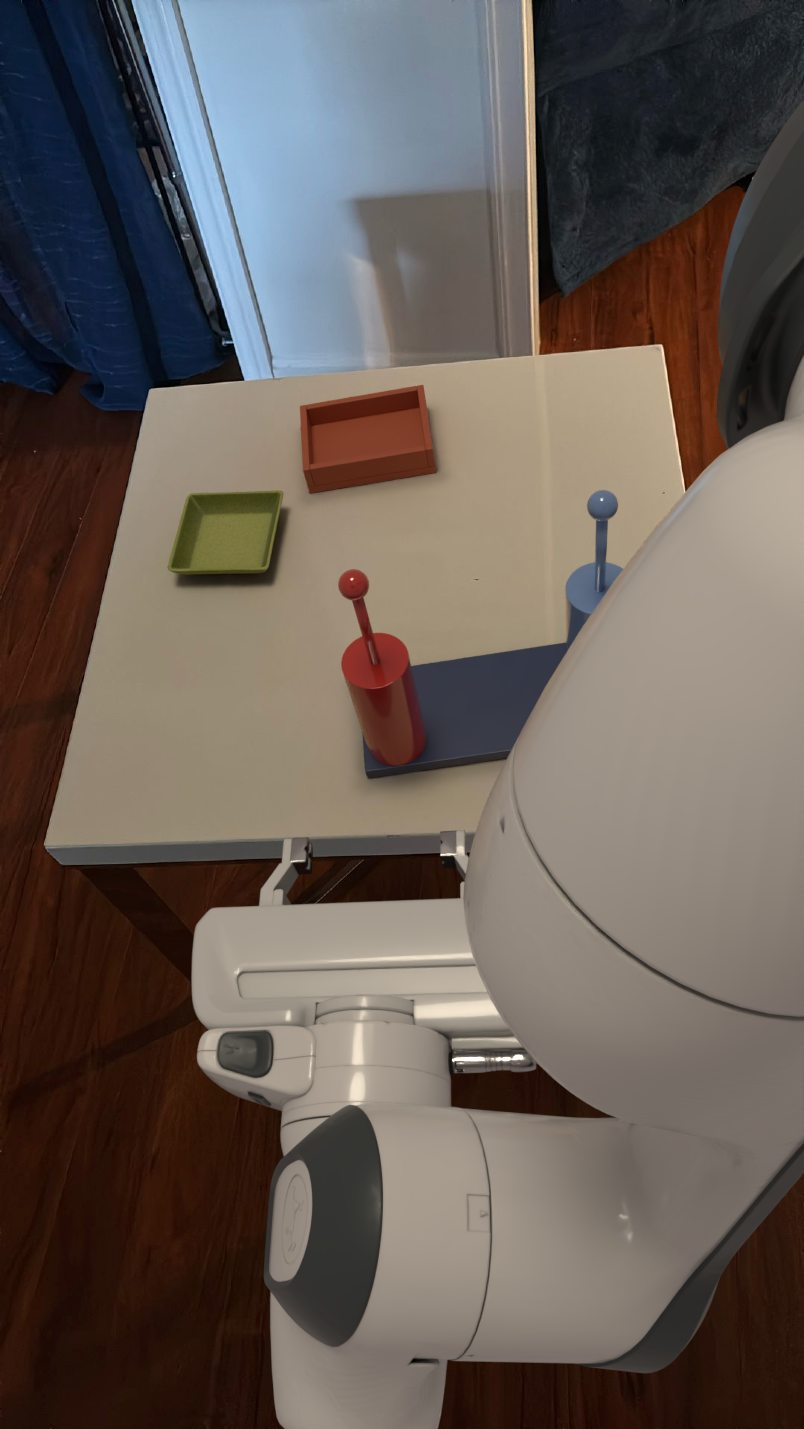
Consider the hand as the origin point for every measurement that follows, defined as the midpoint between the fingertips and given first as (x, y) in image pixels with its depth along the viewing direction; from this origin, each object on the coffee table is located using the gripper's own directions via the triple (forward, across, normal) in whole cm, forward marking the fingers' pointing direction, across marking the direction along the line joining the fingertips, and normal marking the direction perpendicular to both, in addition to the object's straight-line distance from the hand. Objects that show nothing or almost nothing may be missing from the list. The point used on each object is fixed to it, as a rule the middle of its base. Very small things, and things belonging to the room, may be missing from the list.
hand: (375, 837), depth 63 cm
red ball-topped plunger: (+11, 0, +8) cm, 14 cm away
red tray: (+42, +3, +8) cm, 43 cm away
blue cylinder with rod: (+16, -15, +8) cm, 23 cm away
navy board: (+14, -7, +8) cm, 18 cm away
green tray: (+32, +15, +9) cm, 36 cm away
